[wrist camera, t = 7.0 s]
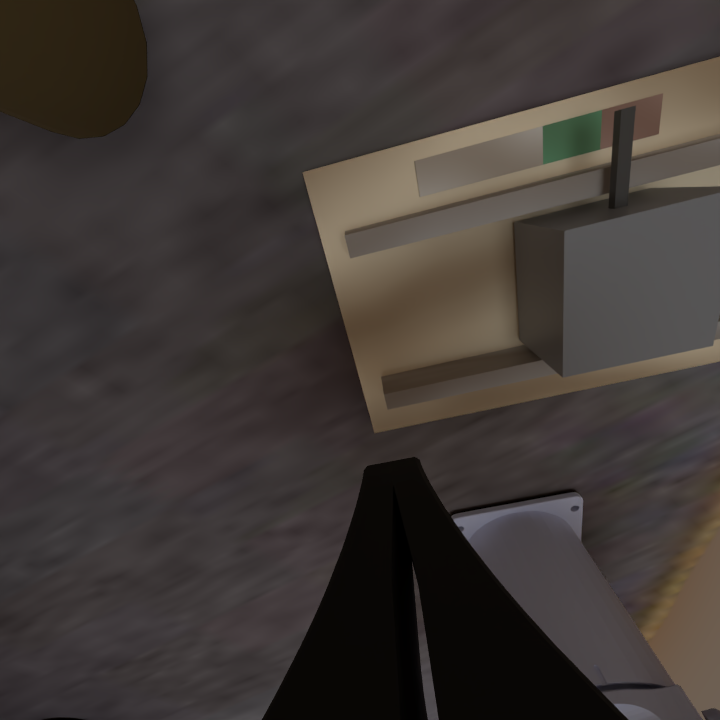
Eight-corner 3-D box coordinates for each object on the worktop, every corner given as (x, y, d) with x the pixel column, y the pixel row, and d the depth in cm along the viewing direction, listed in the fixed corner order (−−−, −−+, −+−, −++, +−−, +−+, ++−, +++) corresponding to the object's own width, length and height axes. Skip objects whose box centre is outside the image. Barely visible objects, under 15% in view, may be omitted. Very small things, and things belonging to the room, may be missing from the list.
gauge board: (749, 339, 17) (817, 365, 15) (373, 419, 19) (376, 454, 16) (831, 28, 12) (958, -16, 10) (306, 173, 14) (296, 169, 11)
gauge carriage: (636, 313, 15) (712, 345, 12) (519, 340, 15) (562, 377, 12) (660, 100, 12) (773, 66, 9) (510, 141, 12) (565, 123, 9)
